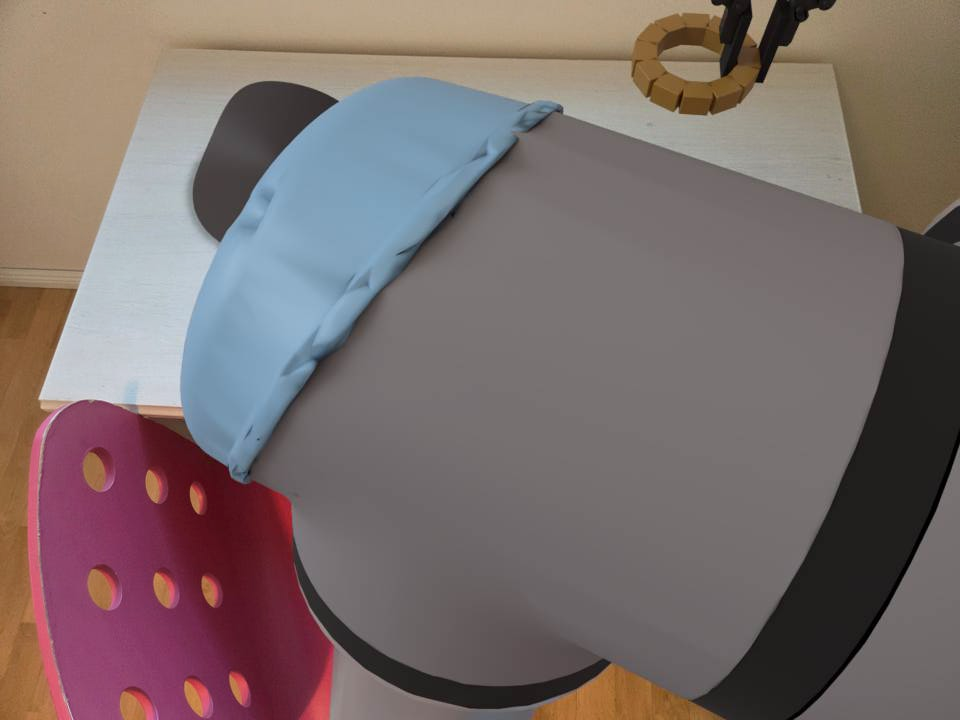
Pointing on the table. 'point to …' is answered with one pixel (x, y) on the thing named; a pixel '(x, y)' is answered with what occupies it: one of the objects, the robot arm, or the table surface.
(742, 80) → the ring
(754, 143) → the table surface
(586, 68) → the table surface
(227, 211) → the dark holed disc
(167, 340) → the table surface
